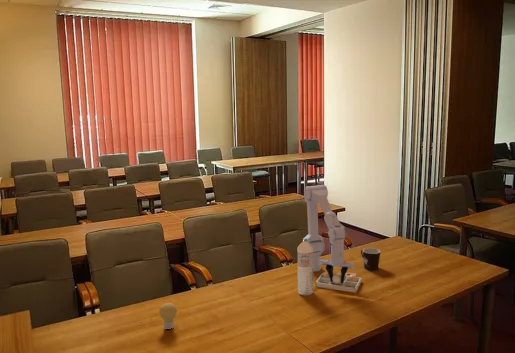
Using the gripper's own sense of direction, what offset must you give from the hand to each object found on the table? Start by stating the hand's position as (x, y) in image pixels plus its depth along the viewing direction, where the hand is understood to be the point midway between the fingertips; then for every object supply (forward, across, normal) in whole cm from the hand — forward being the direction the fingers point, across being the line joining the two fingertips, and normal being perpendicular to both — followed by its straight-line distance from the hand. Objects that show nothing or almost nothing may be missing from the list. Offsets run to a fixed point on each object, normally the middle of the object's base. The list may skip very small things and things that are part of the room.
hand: (337, 281), depth 197 cm
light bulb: (+4, -51, -57) cm, 77 cm away
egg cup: (+3, +3, +14) cm, 15 cm away
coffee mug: (+4, +10, +29) cm, 31 cm away
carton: (+3, 0, +3) cm, 4 cm away
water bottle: (+4, -12, -9) cm, 15 cm away
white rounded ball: (+1, 0, 0) cm, 1 cm away
